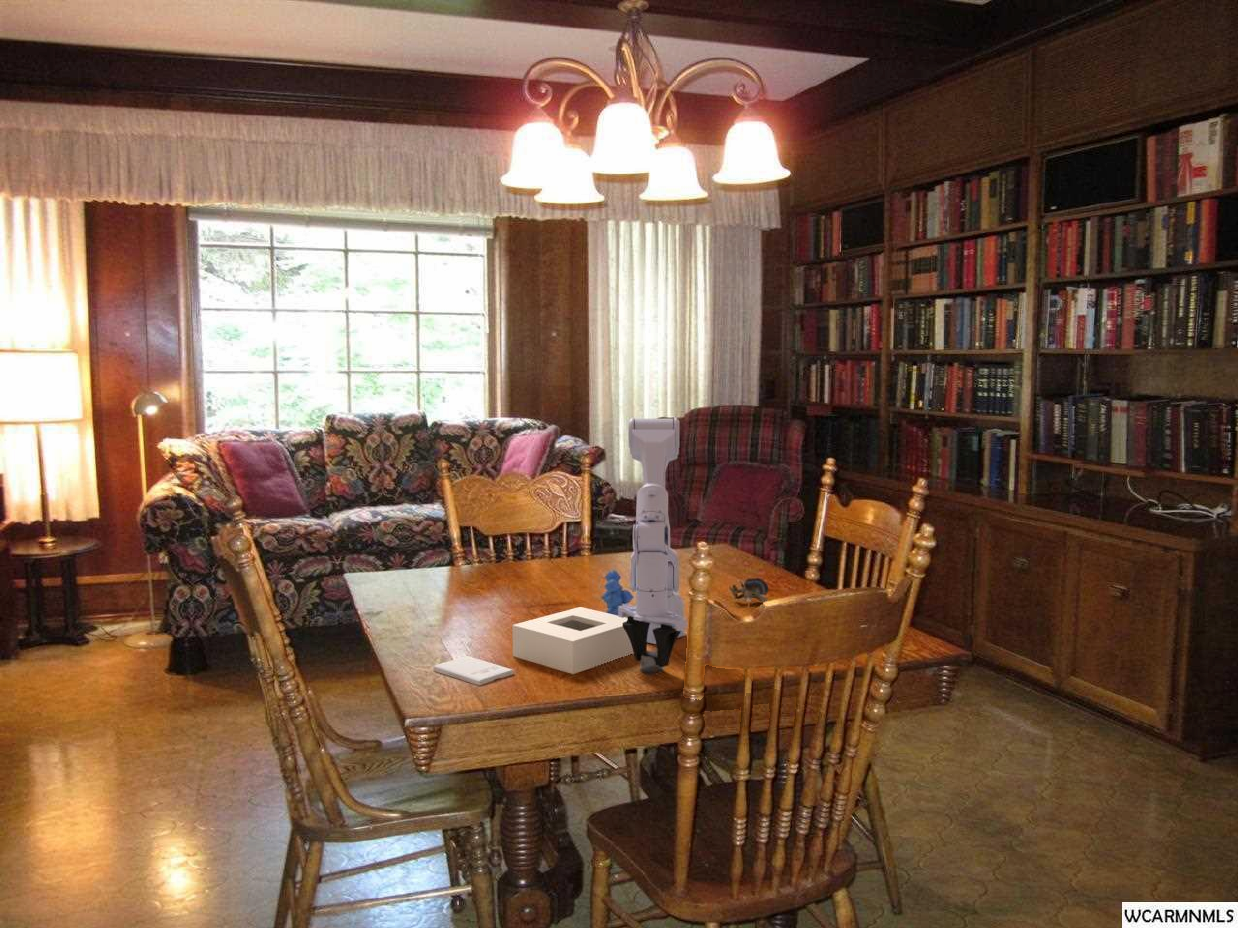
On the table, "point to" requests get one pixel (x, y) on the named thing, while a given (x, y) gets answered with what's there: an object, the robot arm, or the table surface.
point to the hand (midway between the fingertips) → (651, 662)
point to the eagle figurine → (751, 589)
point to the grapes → (615, 593)
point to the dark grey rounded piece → (650, 663)
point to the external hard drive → (473, 670)
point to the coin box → (572, 639)
